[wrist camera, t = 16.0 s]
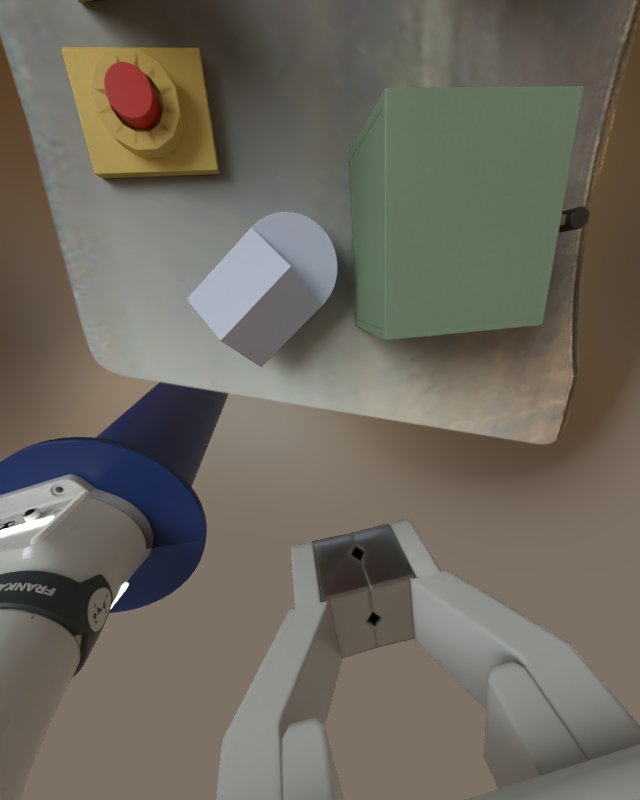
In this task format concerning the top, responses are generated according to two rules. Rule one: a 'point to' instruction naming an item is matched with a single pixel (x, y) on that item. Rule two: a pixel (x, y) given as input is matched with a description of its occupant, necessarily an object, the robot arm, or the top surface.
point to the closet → (459, 207)
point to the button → (132, 95)
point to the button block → (175, 128)
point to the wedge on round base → (268, 285)
